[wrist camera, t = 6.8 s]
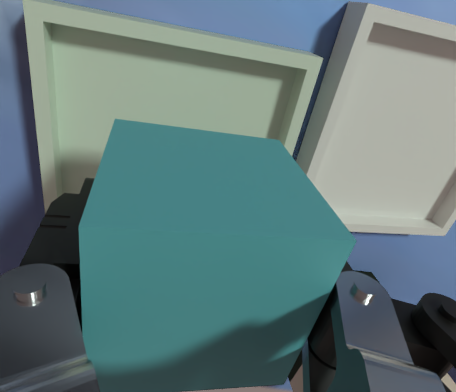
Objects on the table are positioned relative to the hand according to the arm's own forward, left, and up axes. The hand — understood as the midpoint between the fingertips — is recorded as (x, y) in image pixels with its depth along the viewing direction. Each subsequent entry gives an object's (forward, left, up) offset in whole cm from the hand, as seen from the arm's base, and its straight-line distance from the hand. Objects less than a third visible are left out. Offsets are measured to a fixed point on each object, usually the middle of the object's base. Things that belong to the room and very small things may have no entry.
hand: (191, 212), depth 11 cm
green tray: (0, 0, -5) cm, 5 cm away
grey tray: (-11, -2, -5) cm, 12 cm away
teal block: (0, 0, -1) cm, 1 cm away
